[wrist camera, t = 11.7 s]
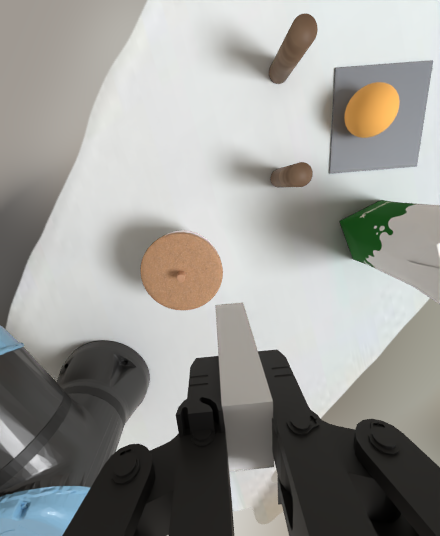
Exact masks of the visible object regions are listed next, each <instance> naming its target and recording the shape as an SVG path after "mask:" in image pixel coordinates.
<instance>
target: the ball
mask: <svg viewBox="0 0 440 536" xmlns="http://www.w3.org/2000/svg"><path fill="white" fill-rule="evenodd" d="M398 110H399V95H398V93H397V91H396V90H395V88H394V87H393V86H391V85H390V84H387V83H384V82H376V83H371V84H368V85H366V86H364V87H363V88H361V89H360V90H358V91H357V92H356V93H355V94H354V95H353V97H352V98H351V99H350V101H349V103H348V105H347V107H346V110H345V117H344V118H345V125H346V127H347V129H348V131H349V132H350V133H351V134H353V135H354V136H357V137H361V138H368V137H373V136H375V135H378V134H380V133H381V132H383V131H384V130H385V129H387V128H388V127H389V126H390V125H391V123H392V122H393V121H394V119H395V117H396V115H397V113H398Z"/></svg>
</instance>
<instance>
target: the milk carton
mask: <svg viewBox="0 0 440 536" xmlns="http://www.w3.org/2000/svg"><path fill="white" fill-rule="evenodd" d="M340 224H341V227H342V230H343V233H344V235H345V238H346V241H347V244H348V247H349V249H350V252H351V255H352V258H353V259H354V260H356V261H359V262H362V263H364V264H367V265H369V266H371V267H374V268H376V269H378V270H380V271H382V272H384V273H386V274H388V275H390V276H392V277H394V278H397V279H399V280H401V281H403V282H405V283H407V284H409V285H411V286H413V287H415V288H416V289H418V290H419V291H421V292H422V293H424V294H425V295H427V296H428V297H430V298H431V299H433V300H434V301H436V302H437V303H439V304H440V205H427V204H413V203H399V202H390V201H384V200H381V201H379V202H377V203H375V204H373V205H371V206H369V207H367V208H365V209H363V210H361V211H359V212H357V213H355V214H353V215H351V216H349V217H347V218H345V219H343V220H341V221H340Z"/></svg>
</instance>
